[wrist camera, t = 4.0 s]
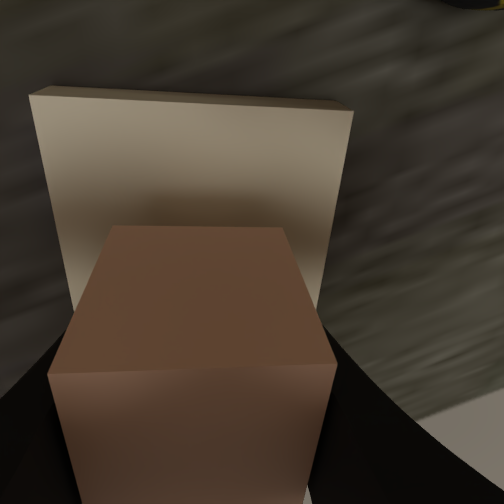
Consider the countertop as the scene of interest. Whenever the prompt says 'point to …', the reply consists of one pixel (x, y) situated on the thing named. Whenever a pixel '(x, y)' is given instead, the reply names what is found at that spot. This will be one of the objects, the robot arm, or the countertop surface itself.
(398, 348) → the countertop surface
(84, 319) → the block
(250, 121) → the base
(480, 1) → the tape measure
